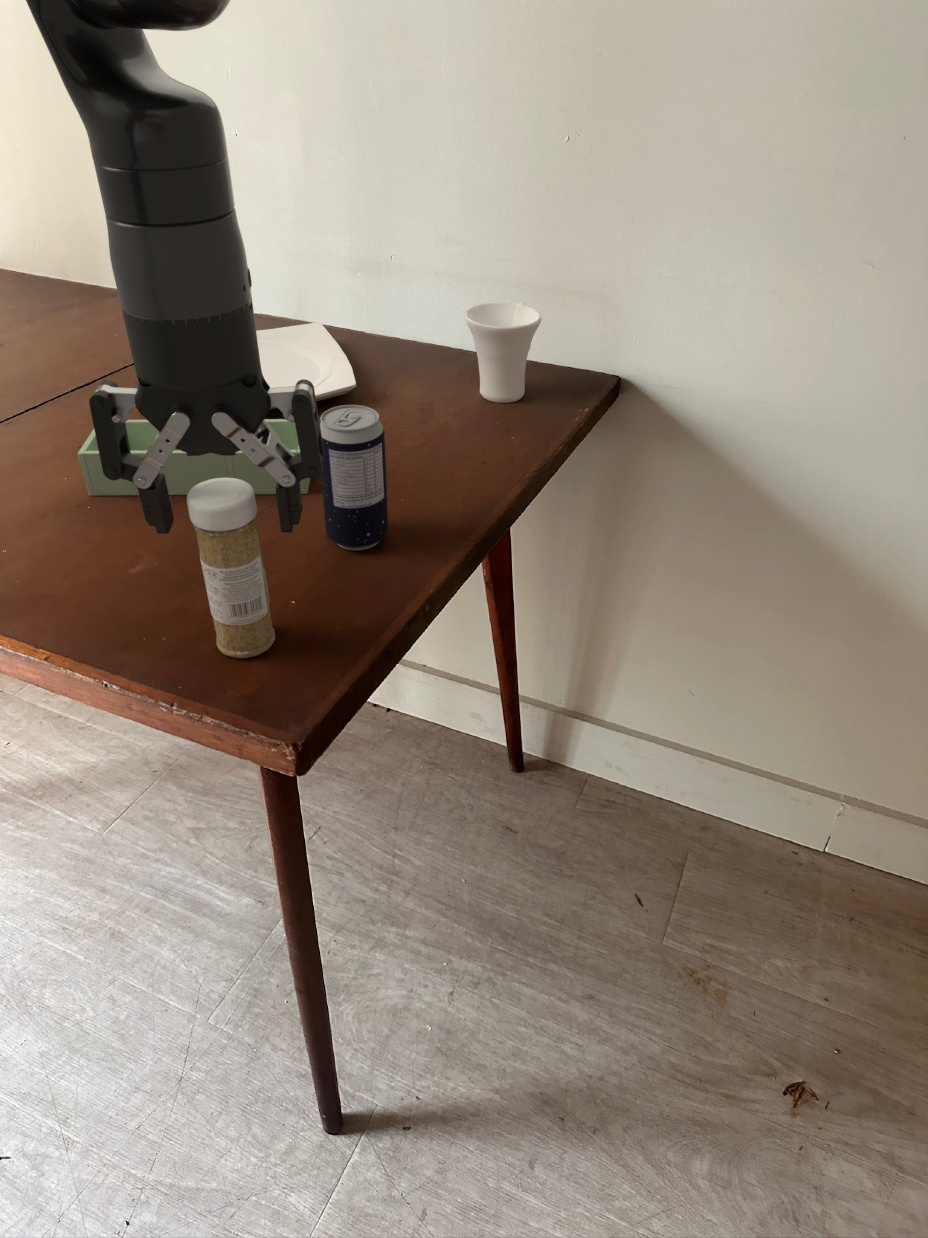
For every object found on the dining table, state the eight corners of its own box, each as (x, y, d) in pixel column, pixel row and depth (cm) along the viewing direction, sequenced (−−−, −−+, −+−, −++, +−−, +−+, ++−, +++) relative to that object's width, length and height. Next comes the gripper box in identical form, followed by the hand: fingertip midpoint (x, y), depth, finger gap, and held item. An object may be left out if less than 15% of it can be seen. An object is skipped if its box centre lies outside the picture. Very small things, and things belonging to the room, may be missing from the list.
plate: (328, 337, 120) (326, 318, 119) (369, 408, 102) (368, 387, 100) (144, 355, 114) (140, 334, 112) (153, 434, 96) (148, 411, 94)
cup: (550, 390, 108) (557, 309, 101) (509, 415, 102) (513, 330, 95) (492, 372, 112) (495, 293, 105) (448, 395, 106) (449, 313, 99)
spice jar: (274, 621, 70) (252, 472, 61) (277, 657, 66) (254, 504, 58) (215, 628, 69) (186, 477, 60) (215, 665, 65) (184, 510, 57)
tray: (89, 495, 85) (77, 453, 82) (109, 460, 91) (99, 419, 88) (307, 494, 86) (303, 452, 83) (314, 459, 92) (310, 418, 89)
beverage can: (399, 530, 81) (395, 410, 73) (369, 561, 77) (362, 437, 69) (347, 516, 83) (338, 397, 75) (314, 545, 79) (302, 422, 71)
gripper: (41, 314, 48) (110, 558, 58) (300, 314, 48) (325, 555, 58) (82, 273, 54) (138, 501, 64) (312, 274, 54) (332, 499, 64)
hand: (227, 527), depth 61 cm, fingers open, 8 cm apart
